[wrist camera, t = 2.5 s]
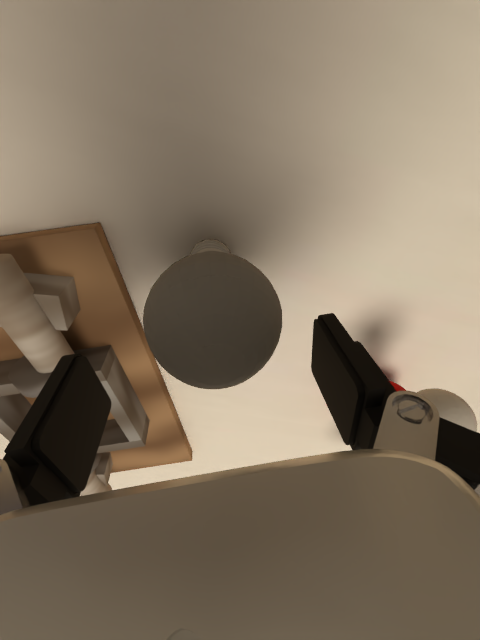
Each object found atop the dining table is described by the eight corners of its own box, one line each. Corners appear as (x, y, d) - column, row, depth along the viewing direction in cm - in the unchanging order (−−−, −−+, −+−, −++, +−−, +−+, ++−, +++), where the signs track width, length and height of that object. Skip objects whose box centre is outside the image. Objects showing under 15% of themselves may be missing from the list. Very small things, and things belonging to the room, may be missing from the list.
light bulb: (144, 259, 18) (94, 378, 10) (206, 185, 16) (208, 260, 8) (214, 310, 21) (221, 435, 13) (275, 253, 18) (330, 361, 10)
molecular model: (334, 328, 23) (403, 444, 15) (406, 310, 23) (517, 419, 15) (339, 438, 33) (381, 540, 25) (388, 427, 33) (447, 527, 25)
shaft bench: (-146, 256, 16) (-267, 305, 12) (100, 222, 16) (64, 259, 12) (69, 470, 31) (49, 523, 27) (192, 451, 32) (190, 501, 28)
